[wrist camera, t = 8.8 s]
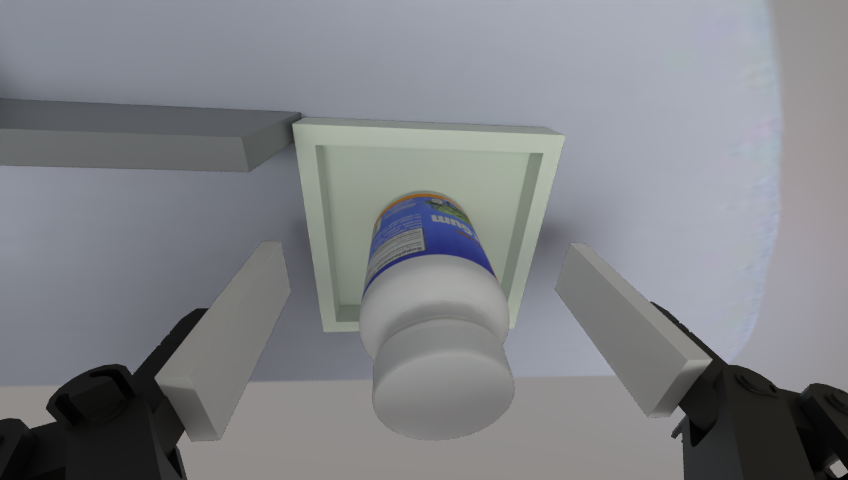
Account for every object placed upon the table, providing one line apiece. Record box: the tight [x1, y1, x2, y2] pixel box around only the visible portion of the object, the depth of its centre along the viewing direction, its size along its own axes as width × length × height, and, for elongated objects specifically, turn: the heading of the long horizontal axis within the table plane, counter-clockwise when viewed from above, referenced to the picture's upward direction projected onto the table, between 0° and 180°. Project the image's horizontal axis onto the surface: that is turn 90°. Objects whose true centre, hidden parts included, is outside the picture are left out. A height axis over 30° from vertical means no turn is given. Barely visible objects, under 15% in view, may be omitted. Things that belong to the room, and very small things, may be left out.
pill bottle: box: [359, 192, 515, 441], centre depth 13 cm, size 5×5×10 cm
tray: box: [292, 117, 565, 332], centre depth 16 cm, size 12×12×2 cm
